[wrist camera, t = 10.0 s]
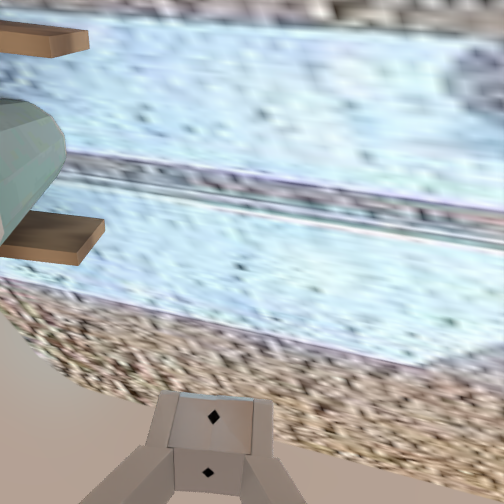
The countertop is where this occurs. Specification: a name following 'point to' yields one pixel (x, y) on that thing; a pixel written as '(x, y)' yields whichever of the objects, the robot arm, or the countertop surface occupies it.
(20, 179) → the disposable coffee cup
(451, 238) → the countertop surface
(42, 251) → the dock cradle
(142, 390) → the countertop surface
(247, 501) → the robot arm
